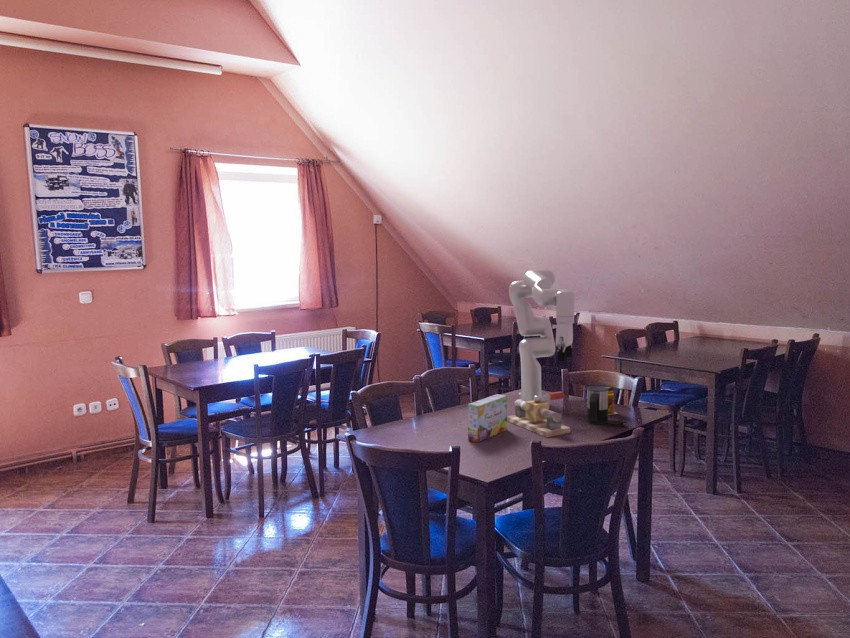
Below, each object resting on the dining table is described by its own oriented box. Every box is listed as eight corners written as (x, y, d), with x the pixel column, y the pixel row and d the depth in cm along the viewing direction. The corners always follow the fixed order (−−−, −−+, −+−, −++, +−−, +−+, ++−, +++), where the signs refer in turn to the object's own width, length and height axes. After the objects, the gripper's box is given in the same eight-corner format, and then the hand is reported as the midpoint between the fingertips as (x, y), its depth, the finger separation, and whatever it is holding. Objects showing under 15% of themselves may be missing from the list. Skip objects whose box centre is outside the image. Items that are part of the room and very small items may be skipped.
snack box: (479, 443, 251) (478, 405, 249) (467, 440, 254) (466, 403, 252) (508, 430, 267) (507, 394, 265) (496, 427, 270) (496, 393, 269)
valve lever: (536, 402, 267) (536, 396, 267) (532, 401, 270) (532, 395, 269) (563, 398, 274) (563, 392, 274) (559, 397, 276) (559, 391, 276)
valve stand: (506, 420, 280) (506, 397, 279) (529, 416, 286) (528, 393, 284) (546, 437, 255) (546, 411, 254) (570, 432, 261) (570, 407, 259)
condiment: (605, 416, 284) (605, 389, 282) (593, 411, 291) (593, 385, 290) (618, 413, 286) (618, 387, 285) (606, 409, 294) (606, 384, 293)
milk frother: (585, 418, 280) (585, 385, 278) (623, 419, 277) (623, 386, 276) (588, 428, 266) (588, 393, 265) (627, 428, 264) (627, 393, 262)
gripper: (562, 316, 280) (562, 354, 283) (550, 321, 265) (550, 362, 268) (579, 317, 277) (579, 356, 279) (567, 322, 262) (567, 363, 264)
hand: (564, 359), depth 273 cm, fingers open, 9 cm apart
